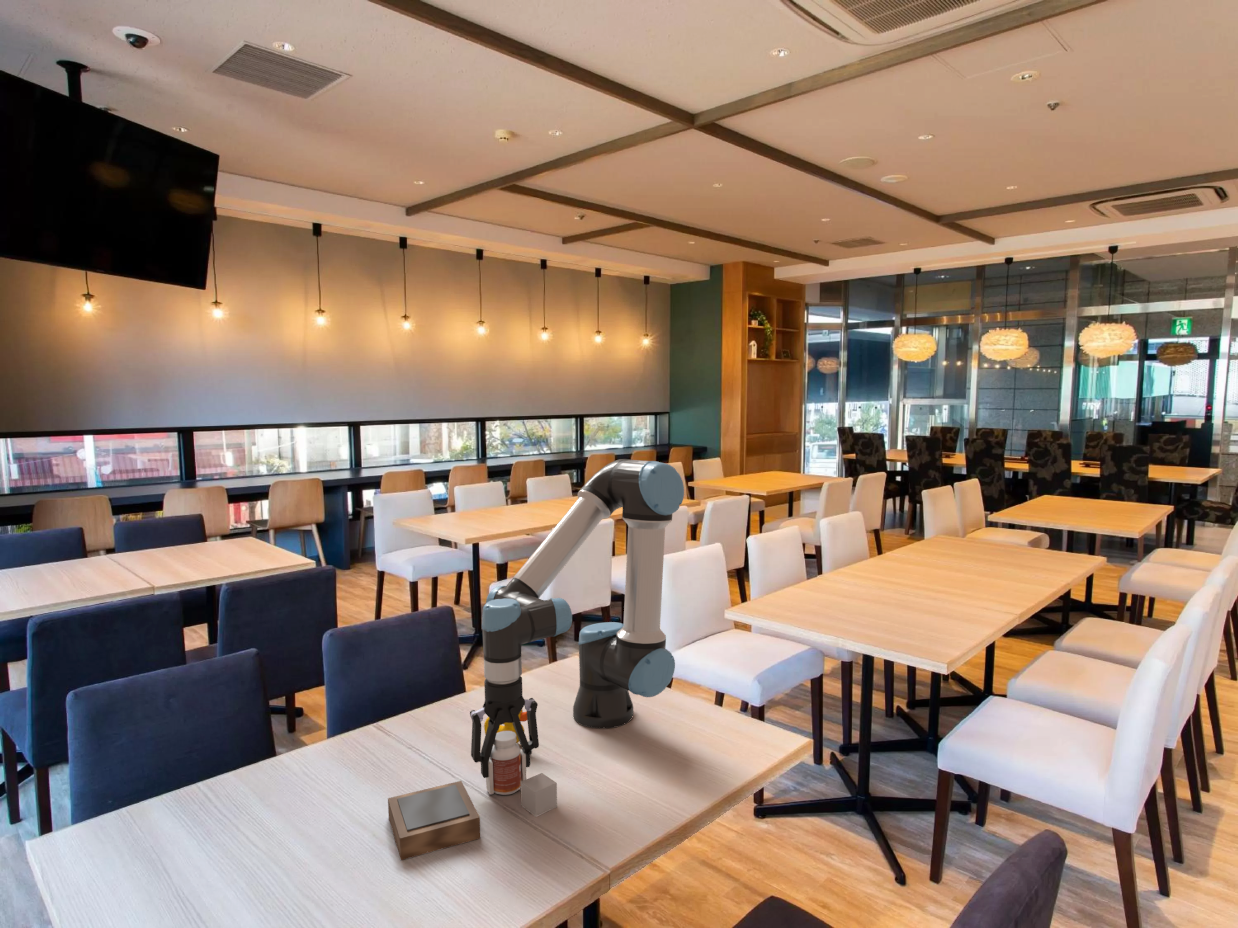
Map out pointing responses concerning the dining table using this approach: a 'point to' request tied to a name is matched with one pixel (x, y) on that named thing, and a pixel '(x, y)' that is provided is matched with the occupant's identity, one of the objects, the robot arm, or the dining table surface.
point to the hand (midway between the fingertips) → (506, 786)
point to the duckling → (508, 724)
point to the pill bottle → (506, 763)
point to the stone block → (538, 794)
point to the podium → (433, 819)
